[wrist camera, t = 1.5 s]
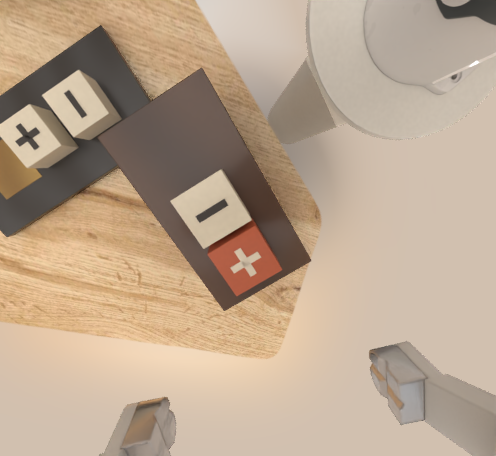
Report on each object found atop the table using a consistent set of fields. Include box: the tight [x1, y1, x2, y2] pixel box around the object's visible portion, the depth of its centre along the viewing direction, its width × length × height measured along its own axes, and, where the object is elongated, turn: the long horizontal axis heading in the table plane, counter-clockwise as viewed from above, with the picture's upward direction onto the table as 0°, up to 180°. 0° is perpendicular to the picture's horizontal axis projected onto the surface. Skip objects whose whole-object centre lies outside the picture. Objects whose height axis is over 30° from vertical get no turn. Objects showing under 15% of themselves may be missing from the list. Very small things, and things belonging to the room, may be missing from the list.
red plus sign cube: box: [207, 218, 282, 296], centre depth 21 cm, size 4×4×3 cm
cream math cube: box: [0, 104, 79, 168], centre depth 26 cm, size 4×4×3 cm
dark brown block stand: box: [98, 68, 311, 311], centre depth 26 cm, size 10×19×10 cm, turn 31°
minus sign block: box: [42, 70, 122, 140], centre depth 25 cm, size 4×4×3 cm
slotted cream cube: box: [170, 169, 252, 249], centre depth 20 cm, size 4×4×3 cm
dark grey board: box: [0, 26, 151, 237], centre depth 27 cm, size 24×12×1 cm, turn 121°
